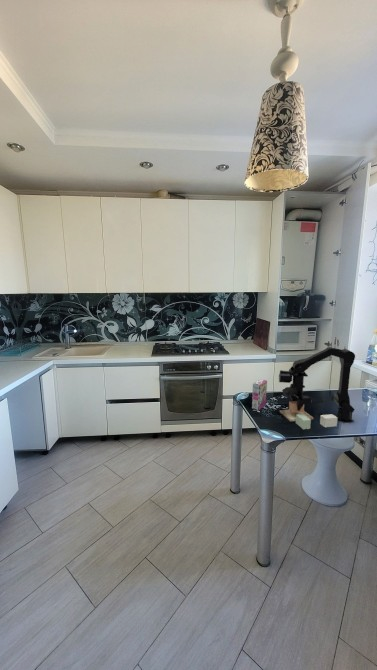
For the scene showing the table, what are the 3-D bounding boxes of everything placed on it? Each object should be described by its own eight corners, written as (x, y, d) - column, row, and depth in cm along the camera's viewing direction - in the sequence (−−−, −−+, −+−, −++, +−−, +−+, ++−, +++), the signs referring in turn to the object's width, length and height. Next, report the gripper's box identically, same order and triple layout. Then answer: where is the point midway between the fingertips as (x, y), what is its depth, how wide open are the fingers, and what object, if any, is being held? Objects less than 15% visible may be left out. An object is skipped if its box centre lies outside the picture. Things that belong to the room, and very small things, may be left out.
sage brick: (295, 423, 142) (296, 414, 141) (302, 422, 142) (303, 413, 141) (303, 429, 135) (303, 420, 134) (310, 428, 135) (310, 419, 135)
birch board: (301, 410, 157) (301, 408, 157) (313, 419, 145) (313, 417, 145) (279, 411, 155) (279, 410, 155) (290, 421, 143) (290, 419, 143)
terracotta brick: (299, 408, 152) (300, 400, 151) (303, 411, 148) (304, 403, 148) (288, 409, 151) (289, 401, 150) (292, 412, 147) (293, 404, 146)
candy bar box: (259, 411, 157) (260, 385, 154) (251, 408, 160) (252, 383, 157) (266, 404, 165) (267, 380, 163) (259, 402, 168) (260, 378, 166)
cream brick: (331, 422, 142) (332, 414, 141) (336, 426, 138) (337, 417, 137) (320, 423, 141) (320, 415, 140) (324, 427, 137) (325, 418, 136)
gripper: (276, 378, 155) (275, 403, 158) (293, 389, 137) (292, 417, 139) (293, 377, 157) (292, 402, 159) (313, 388, 139) (311, 415, 141)
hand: (296, 408), depth 150 cm, fingers closed on terracotta brick, 4 cm apart
